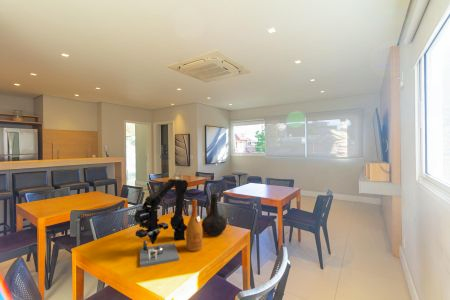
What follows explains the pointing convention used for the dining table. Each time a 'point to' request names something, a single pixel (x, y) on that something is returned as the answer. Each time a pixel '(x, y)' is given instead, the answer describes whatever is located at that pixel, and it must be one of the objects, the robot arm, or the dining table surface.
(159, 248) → the grey metal rounded piece
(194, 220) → the brown tall rounded piece
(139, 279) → the dining table surface
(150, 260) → the stand
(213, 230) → the glass bottle
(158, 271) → the dining table surface
